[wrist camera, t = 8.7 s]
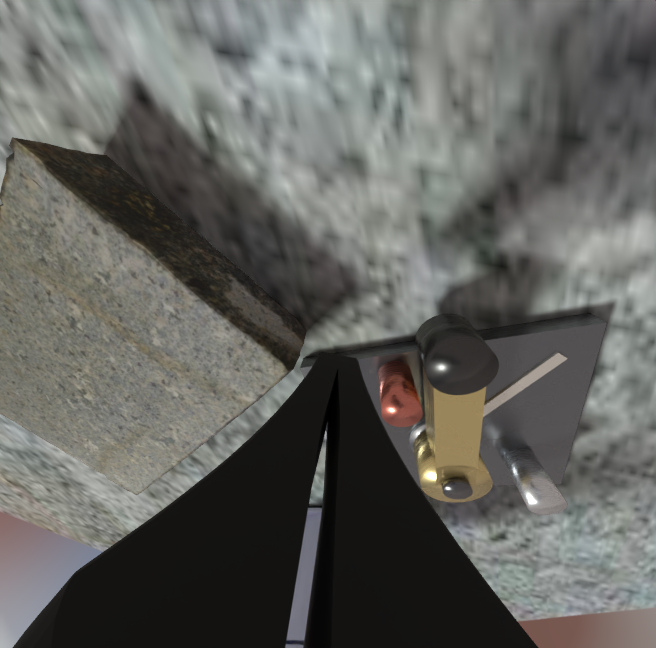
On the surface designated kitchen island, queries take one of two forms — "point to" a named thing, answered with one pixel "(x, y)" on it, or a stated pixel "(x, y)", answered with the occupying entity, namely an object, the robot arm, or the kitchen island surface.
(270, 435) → the robot arm
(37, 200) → the stone block
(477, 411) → the crank lever
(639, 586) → the kitchen island surface
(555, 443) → the crank base
